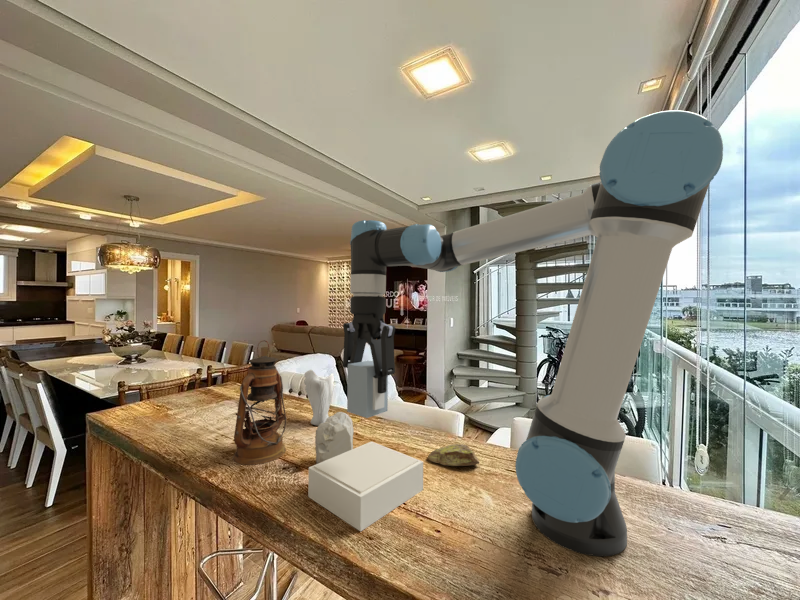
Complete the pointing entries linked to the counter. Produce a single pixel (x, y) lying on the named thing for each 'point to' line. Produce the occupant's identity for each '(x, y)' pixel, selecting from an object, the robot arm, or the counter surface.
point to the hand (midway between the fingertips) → (367, 404)
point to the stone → (334, 437)
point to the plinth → (365, 483)
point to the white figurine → (319, 395)
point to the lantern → (261, 435)
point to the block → (362, 390)
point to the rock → (454, 456)
